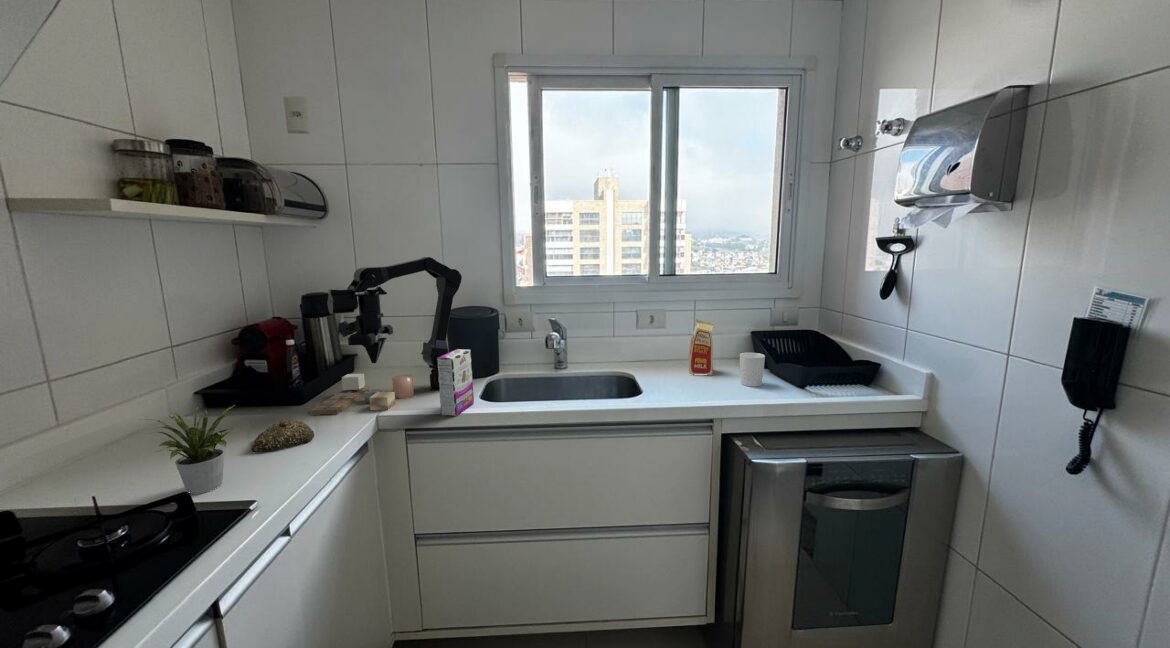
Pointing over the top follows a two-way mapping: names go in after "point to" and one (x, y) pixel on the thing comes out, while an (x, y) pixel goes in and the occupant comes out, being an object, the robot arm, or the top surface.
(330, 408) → the board
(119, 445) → the top surface
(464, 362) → the candy bar box
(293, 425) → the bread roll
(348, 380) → the white block
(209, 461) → the house plant
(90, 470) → the top surface
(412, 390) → the pink pillar candle
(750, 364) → the white cup
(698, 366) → the milk carton
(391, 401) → the oak block
